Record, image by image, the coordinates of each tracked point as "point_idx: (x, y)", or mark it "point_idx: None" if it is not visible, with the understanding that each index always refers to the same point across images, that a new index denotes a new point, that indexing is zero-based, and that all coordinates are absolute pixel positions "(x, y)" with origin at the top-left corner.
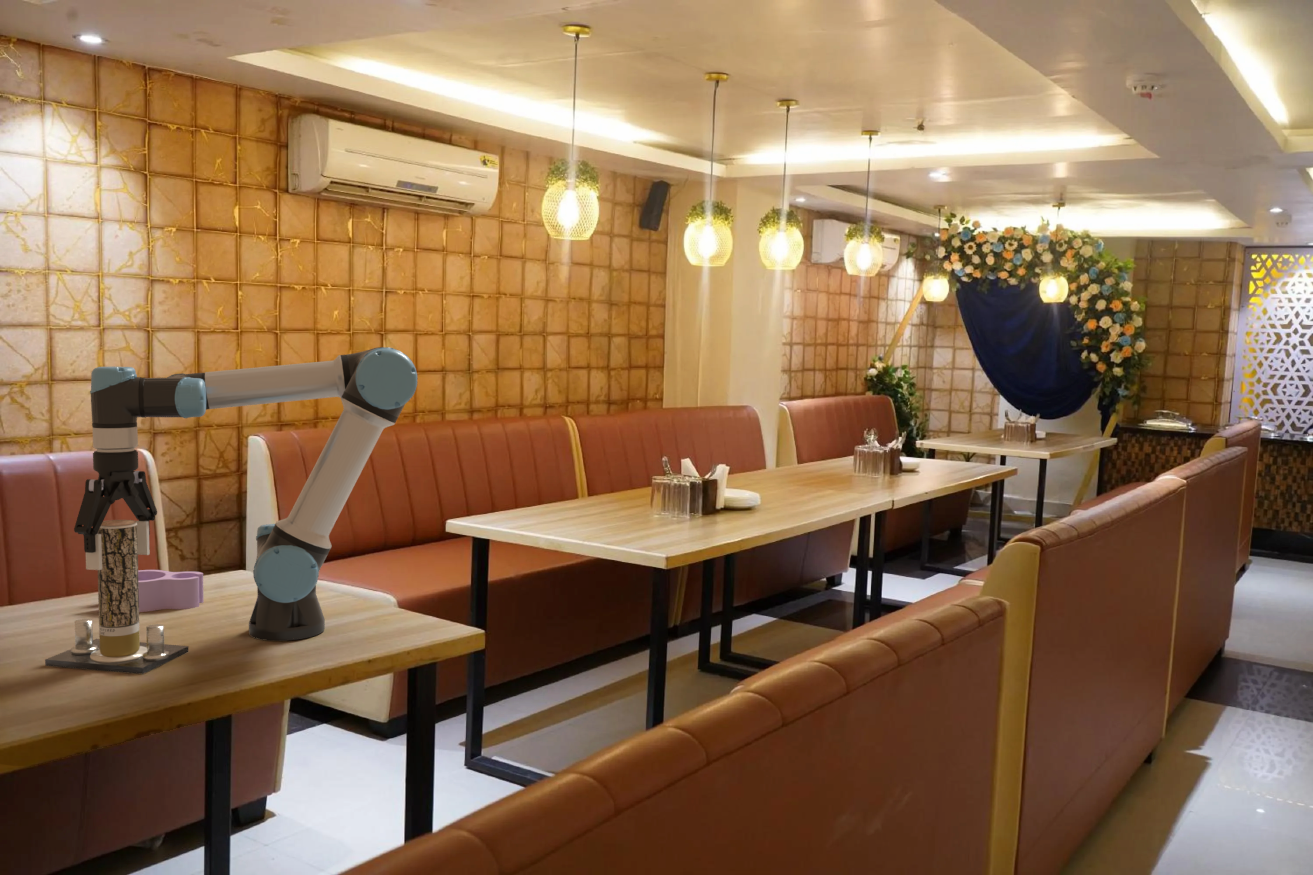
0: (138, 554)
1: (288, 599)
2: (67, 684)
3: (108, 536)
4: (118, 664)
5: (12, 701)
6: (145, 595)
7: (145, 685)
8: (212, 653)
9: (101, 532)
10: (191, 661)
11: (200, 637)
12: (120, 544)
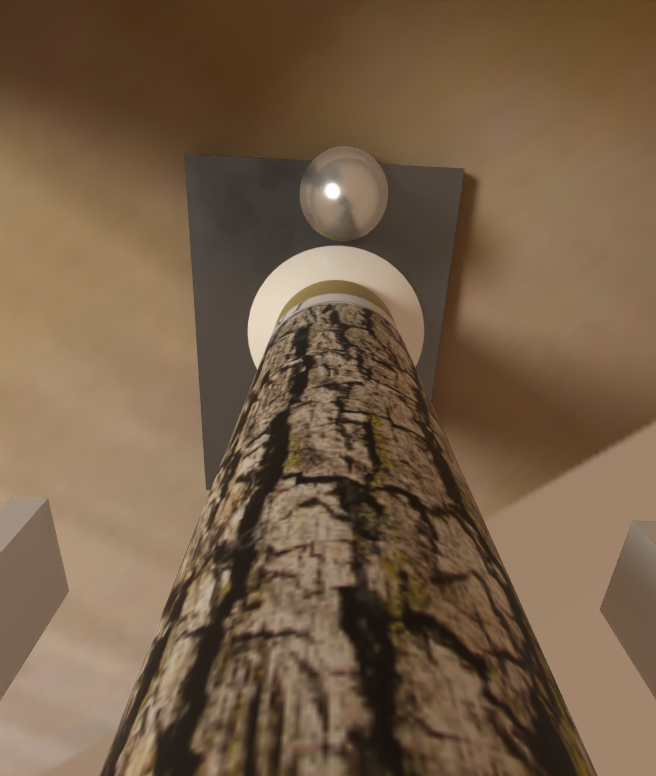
0: (62, 564)
1: None
2: (570, 339)
3: None
4: (437, 275)
5: None
6: None
7: (580, 78)
8: (176, 43)
9: None
10: (290, 71)
11: (20, 219)
12: (524, 638)
